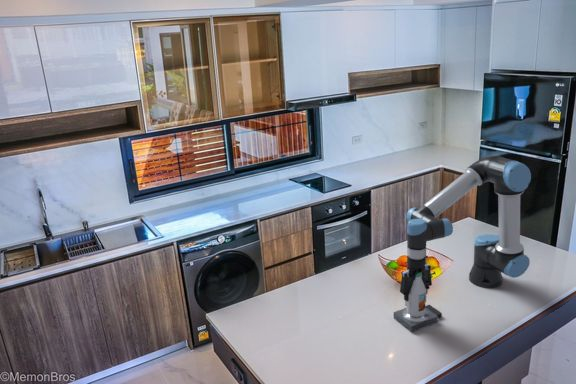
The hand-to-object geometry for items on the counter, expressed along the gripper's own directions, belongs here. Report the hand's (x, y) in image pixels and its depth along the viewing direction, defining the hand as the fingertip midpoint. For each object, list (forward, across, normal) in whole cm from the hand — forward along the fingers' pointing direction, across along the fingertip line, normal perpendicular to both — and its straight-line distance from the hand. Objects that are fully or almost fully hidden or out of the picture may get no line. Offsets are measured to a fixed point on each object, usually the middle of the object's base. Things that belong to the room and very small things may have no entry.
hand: (415, 303), depth 205 cm
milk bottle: (+4, 0, 0) cm, 4 cm away
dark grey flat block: (+8, -2, 0) cm, 8 cm away
